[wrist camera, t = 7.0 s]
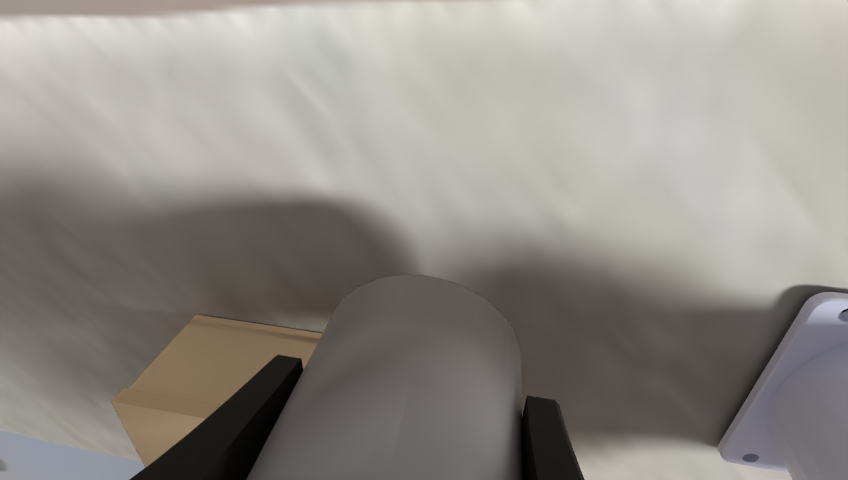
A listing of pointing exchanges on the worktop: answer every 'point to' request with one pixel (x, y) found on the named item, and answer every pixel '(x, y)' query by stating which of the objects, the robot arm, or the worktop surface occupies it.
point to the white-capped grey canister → (404, 391)
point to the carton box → (220, 357)
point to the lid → (158, 419)
